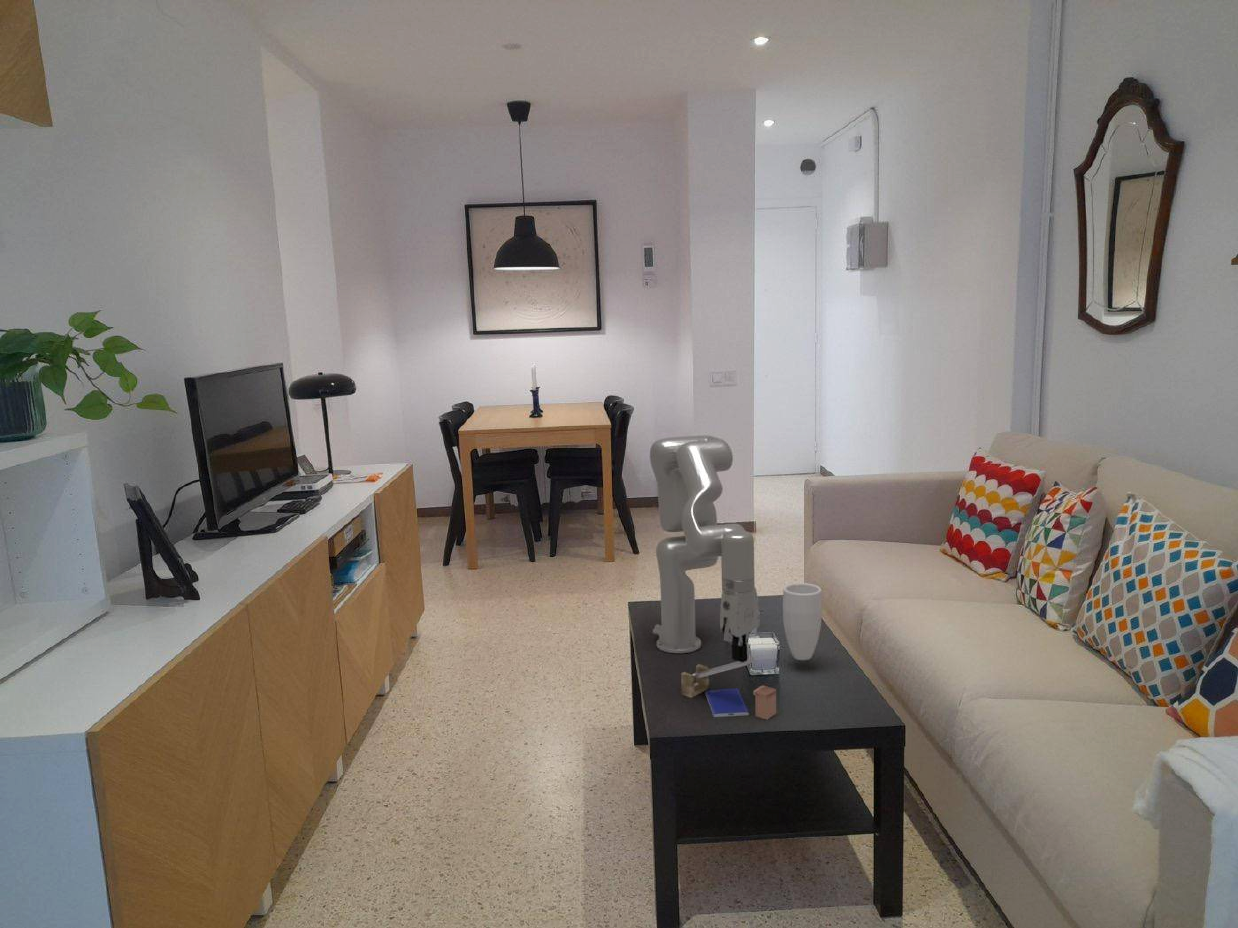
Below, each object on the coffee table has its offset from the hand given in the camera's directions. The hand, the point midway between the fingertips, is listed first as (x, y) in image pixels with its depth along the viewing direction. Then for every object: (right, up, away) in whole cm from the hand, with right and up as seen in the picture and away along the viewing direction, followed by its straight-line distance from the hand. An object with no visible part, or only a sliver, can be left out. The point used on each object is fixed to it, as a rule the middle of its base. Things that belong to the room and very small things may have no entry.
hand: (739, 659), depth 196 cm
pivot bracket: (-9, -10, +11) cm, 18 cm away
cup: (+20, -8, +23) cm, 32 cm away
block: (+6, -12, -3) cm, 14 cm away
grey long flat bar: (-4, -4, +5) cm, 7 cm away
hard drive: (-3, -12, +4) cm, 13 cm away
